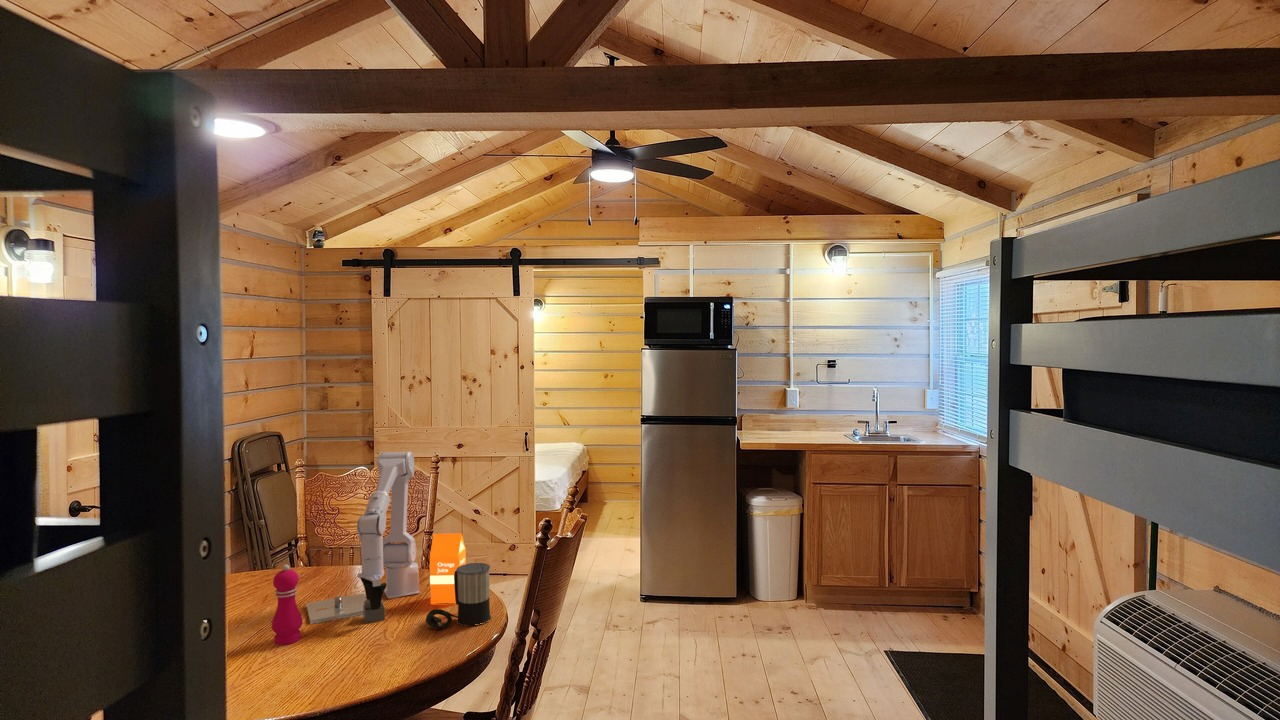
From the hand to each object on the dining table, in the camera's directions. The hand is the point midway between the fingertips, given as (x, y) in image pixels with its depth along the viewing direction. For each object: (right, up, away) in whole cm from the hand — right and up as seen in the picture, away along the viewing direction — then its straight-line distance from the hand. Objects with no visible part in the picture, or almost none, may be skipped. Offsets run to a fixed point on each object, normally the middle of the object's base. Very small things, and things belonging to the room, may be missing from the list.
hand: (373, 604), depth 199 cm
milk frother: (+25, -4, -4) cm, 26 cm away
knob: (0, -4, 0) cm, 4 cm away
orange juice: (+17, -4, +14) cm, 23 cm away
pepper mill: (-17, -5, -14) cm, 23 cm away
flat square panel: (-13, -4, +8) cm, 16 cm away
